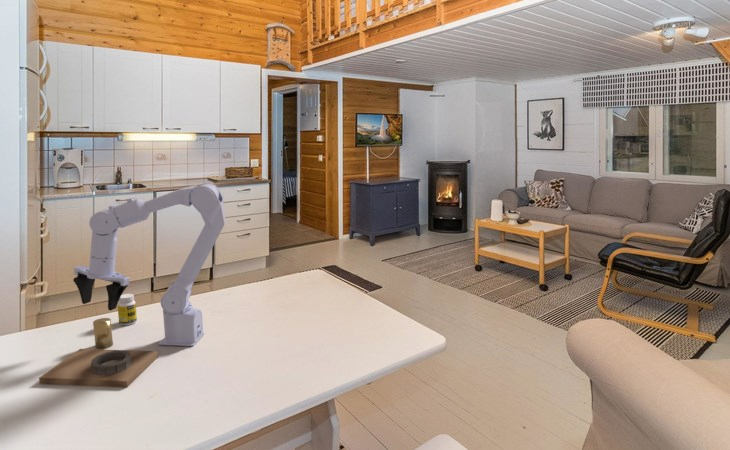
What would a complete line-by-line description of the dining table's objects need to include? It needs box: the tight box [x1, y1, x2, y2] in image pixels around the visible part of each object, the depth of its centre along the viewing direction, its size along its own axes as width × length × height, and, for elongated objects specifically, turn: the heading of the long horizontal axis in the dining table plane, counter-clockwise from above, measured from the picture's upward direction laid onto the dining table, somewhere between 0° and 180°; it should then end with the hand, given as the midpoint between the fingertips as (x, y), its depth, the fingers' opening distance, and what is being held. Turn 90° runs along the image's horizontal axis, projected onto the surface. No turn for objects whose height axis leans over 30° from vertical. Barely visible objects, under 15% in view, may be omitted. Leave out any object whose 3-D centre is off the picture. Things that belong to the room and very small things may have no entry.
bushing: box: [92, 317, 114, 350], centre depth 118 cm, size 4×4×7 cm
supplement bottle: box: [117, 293, 138, 326], centre depth 132 cm, size 5×5×8 cm
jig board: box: [38, 348, 159, 388], centre depth 106 cm, size 20×14×4 cm
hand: (99, 305), depth 117 cm, fingers open, 7 cm apart
